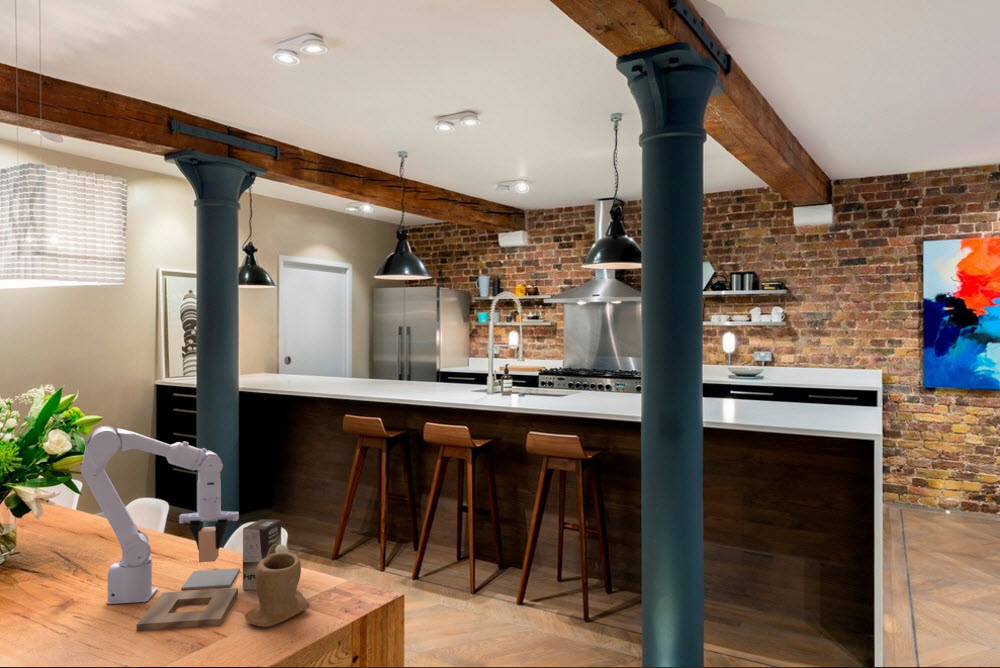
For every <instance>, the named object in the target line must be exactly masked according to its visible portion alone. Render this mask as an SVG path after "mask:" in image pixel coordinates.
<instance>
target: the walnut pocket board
mask: <svg viewBox="0 0 1000 668" xmlns="http://www.w3.org/2000/svg"><path fill="white" fill-rule="evenodd" d="M238 594H239V588H237V587H234V588H233V587H229V588H213V589H196V590H181V591H167V592H166V591H165V592H162V593H161V594H160V595H159V596H158V598H157V599H156V600H155V601H154V603H153V604H152V605H151V606H150V607H149V608H148V610H147V611H146V612H145V613H144V615H143V616H142V617H141V618H140V620H139V621H138V622H137V623H136V631H137V632H138V631H141V632H142V631H155V630H168V629H171V630H172V629H182V628H185V629H186V628H196V627H197V628H198V626H200V627H211V626H222V624H223V622H224V620H225V618H226V617H227V615H228V613H229V611H230V609H231V607H232V606H233V604H234V602H235V600H236V598H237V596H238ZM201 603H208V604H206V606H205V608H204V610H195V611H181V612H174V611H175V610H176V609H177V607H178V606H189V605H190V604H192V605H202V604H201ZM190 606H191V605H190Z"/></svg>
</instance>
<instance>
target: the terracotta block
mask: <svg viewBox="0 0 1000 668" xmlns="http://www.w3.org/2000/svg"><path fill="white" fill-rule="evenodd" d="M198 533H199V550H198V563H210V562H211V563H213V562H216V561H217V559H218V558H219V557H220V555H219V553H220V552H219V551H220V548H219V549H216V528H215V526H203V528H202V529H201V530H200V531H199V532H198Z"/></svg>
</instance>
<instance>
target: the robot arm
mask: <svg viewBox="0 0 1000 668" xmlns="http://www.w3.org/2000/svg"><path fill="white" fill-rule="evenodd" d="M189 444H190V443H189V442H188V441H182V442H180V441H178V442H174V443H172V444H169V443H166V442H163V441H160V440H158V439H154V438H152V437H148V436H145V435H143V434H140V433H137V432H136V431H135V432H134V431H132V430H127V429H124V428H118V427H117V428H116V429H115V428H114V427H112V426H110V425H103V426H99V427H97V428H95V429H94V430H93V431H92V432H91V434H90V436H89V437H88V439H87V441H86V443H85V448H84V453H83V458H82V461H81V466H80V467H81V468H80V473H81V475H82V477H83V479H84V481H85V482H86V483H85V484H87V486H88V488H89V490H90V491H91V493H92V495H93V497H94V498H95V500H96V503H98V505H99V508H100V509H101V511H102V513H103V514H104V516H105V518H106V520H107V522H108V524H109V525H110V527H111V528H112V531H113V532H114V534H115V537H116V539H117V542H118V544H119V545H120V548H121V559H120V560H119V562H115V563H112V564H111V565H110V567H109V569H108V573H107V601H106V605H112V604H114V605H115V604H129V603H130V604H131V603H132V604H133V603H147V602H148V601H149V600H150V599H151V598H152V596H153V595H154V594H155V593H156V592H157V591H158V587H153V585H152V583H153V582H152V581H153V574H152V573H153V572H152V571H153V569H152V566H153V565H152V563H153V562H152V560H153V559H152V558H153V557H152V556H151V553H152V549H151V545H150V544H149V543H150V542H149V537H148V535H147V534H146V533H145V532H143V531H141V530H140V529H139V528H138V526H137V525H136V523H135V522H134V520H133V518H132V517H131V515H130V513H129V512H128V510H127V507H126V506H125V504H124V503H123V500H122V499H121V497H120V495H119V493H118V491H117V489H116V487H115V486H114V485H113V482H112V480H111V479H110V477H109V475H108V473H107V472H106V467H107V465H108V463H109V461H110V460H111V458H113V456H115V454H116V453H117V452H118V451H119V449H120V451H121V452H125V451H130V450H132V449H134V450H139V451H141V452H142V451H143V452H147V453H151V454H154V455H158V456H162V457H165V458H166V460H167V462H168V464H171V465H174V466H176V467H180V468H183V469H186V470H187V469H188V470H191V471H196V470H197V471H198V473H197V475H198V476H197V478H198V479H197V486H196V487H197V490H196V491H197V512H192V513H181V514H180V515H179V517H178V520H179V521H178V523H179V524H184V523H189V525H188V529H189V530H190V532H191V534H192V536H193V538H194V540H195V543H196V547H197V550H198V551H199V533H198V532H199V531H200V530H201V529H202V528H203V527H204V522H216V523H215V526H214V527H215V528H216V549H219V550H220V548H221V547H222V542H223V537H224V535H225V532H226V529H227V527H228V524H229V522H230V521H233V522H238V520H239V519H240V518H239V517H240V514H239V511H226V510H222V508H221V507H222V489H221V488H222V487H221V486H222V481H221V472H222V470H223V467H224V463H223V462H222V459H221V458H220V457H219V455H218V454H217V453H216V452H213V451H212V450H211V449H210V450H207V448H205V447H202V448H199V447H195V446H193V445H189ZM94 475H95V476H94Z"/></svg>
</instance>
